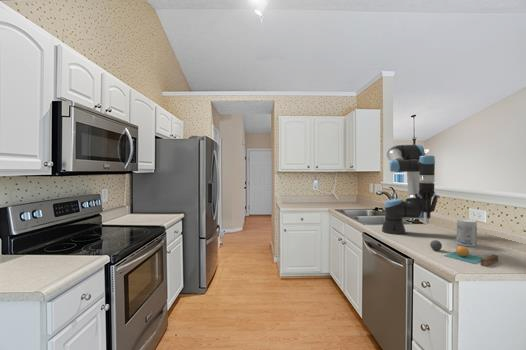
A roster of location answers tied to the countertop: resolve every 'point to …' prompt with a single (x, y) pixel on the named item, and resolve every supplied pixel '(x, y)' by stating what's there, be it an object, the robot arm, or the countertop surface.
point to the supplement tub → (467, 232)
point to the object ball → (462, 251)
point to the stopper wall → (489, 260)
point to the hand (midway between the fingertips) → (426, 223)
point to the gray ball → (436, 245)
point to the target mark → (465, 258)
